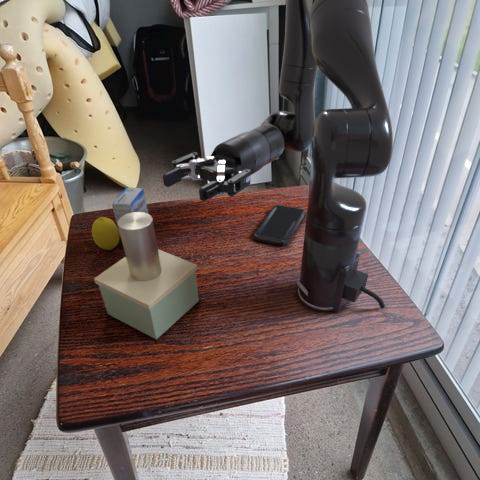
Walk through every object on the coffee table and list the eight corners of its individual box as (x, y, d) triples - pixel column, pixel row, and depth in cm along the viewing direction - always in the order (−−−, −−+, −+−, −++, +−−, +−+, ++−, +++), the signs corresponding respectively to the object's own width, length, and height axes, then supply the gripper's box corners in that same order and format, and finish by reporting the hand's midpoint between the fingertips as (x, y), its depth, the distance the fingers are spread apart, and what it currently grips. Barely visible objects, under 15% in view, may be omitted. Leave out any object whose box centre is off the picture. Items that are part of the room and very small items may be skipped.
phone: (252, 235, 93) (275, 203, 103) (252, 239, 94) (275, 208, 104) (286, 242, 91) (306, 209, 101) (286, 247, 92) (305, 214, 102)
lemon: (92, 254, 91) (82, 221, 86) (106, 240, 95) (97, 208, 90) (114, 259, 90) (105, 226, 84) (127, 245, 94) (119, 213, 88)
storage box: (201, 300, 80) (197, 264, 74) (156, 341, 72) (148, 305, 66) (151, 278, 85) (144, 243, 79) (105, 314, 77) (93, 278, 72)
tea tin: (168, 268, 73) (159, 217, 66) (146, 285, 70) (135, 233, 63) (145, 258, 76) (134, 208, 69) (123, 274, 72) (110, 223, 65)
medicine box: (138, 239, 95) (130, 205, 89) (119, 237, 96) (111, 203, 90) (150, 221, 101) (144, 187, 95) (133, 220, 101) (125, 186, 95)
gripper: (212, 128, 81) (149, 156, 72) (273, 145, 74) (212, 178, 65) (214, 166, 86) (156, 196, 77) (271, 185, 79) (215, 221, 70)
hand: (182, 188), depth 71 cm, fingers open, 8 cm apart
